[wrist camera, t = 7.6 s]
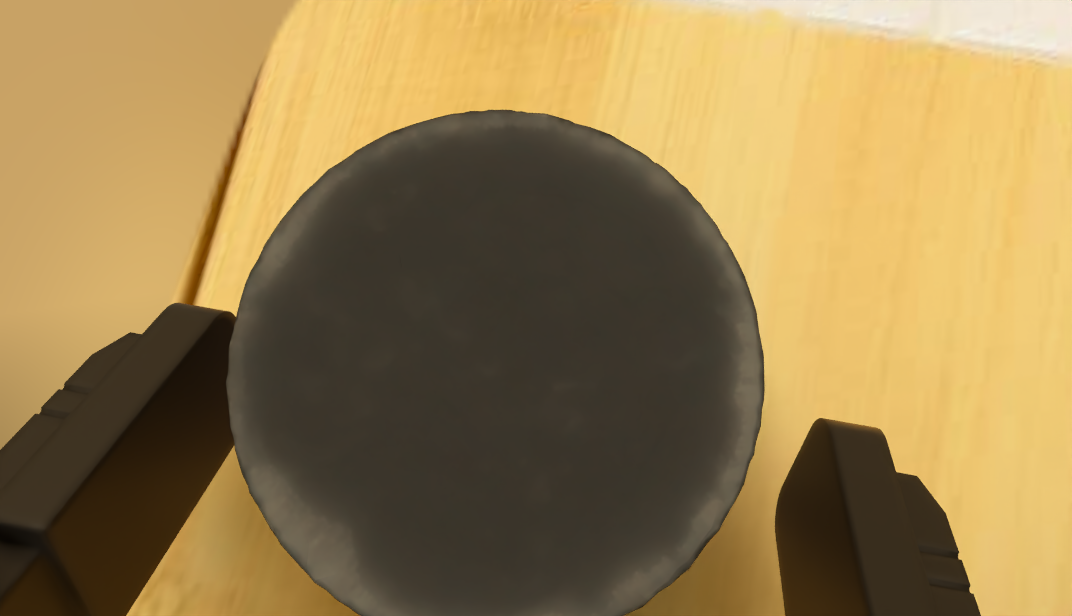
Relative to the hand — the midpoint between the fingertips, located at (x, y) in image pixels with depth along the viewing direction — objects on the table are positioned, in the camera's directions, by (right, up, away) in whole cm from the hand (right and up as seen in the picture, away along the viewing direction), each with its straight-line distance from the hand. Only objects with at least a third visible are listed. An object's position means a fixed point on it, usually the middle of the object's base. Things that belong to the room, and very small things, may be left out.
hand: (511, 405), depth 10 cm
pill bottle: (0, 0, +7) cm, 7 cm away
